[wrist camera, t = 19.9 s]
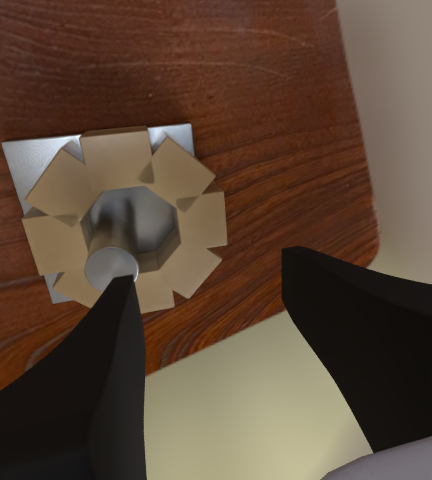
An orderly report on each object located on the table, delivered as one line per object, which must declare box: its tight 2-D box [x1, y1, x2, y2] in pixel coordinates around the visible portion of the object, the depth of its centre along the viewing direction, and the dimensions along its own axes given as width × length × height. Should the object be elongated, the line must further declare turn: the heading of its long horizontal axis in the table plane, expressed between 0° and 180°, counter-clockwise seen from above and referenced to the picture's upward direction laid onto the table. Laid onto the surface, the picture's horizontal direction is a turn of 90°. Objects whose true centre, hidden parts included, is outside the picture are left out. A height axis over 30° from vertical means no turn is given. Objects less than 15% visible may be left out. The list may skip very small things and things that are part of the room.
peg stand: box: [1, 121, 195, 304], centre depth 16 cm, size 9×9×7 cm
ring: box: [21, 125, 227, 313], centre depth 18 cm, size 9×9×2 cm
